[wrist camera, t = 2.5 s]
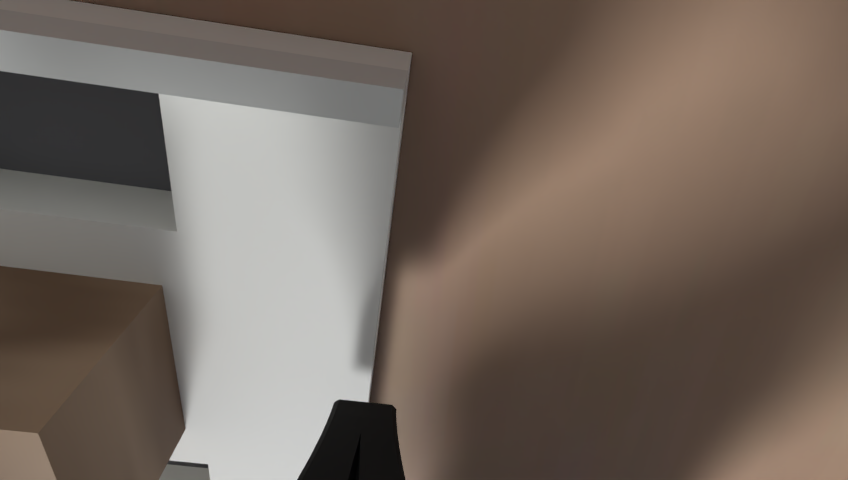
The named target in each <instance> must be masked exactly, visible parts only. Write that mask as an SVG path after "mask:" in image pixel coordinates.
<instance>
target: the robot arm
mask: <svg viewBox="0 0 848 480" xmlns="http://www.w3.org/2000/svg"><path fill="white" fill-rule="evenodd" d="M297 480H405V476H404V471H403V466H402V461H401V455H400V449H399V442H398V435H397V424H396V408H395V407H394V406H393V405H387V404H378V403H369V402H359V401H350V400H341V399H339V400H337V401H336V402H334V404H333V407H332V410H331V413H330V416H329V418H328V420H327V423H326V425H325V427H324V430H323V432H322V434H321V436H320V438H319V440H318V442H317V444H316V446H315V448H314V450H313V452H312V454H311V456H310V458H309V459H308V461H307V463H306V465H305V467H304V468H303V470H302V472H301V474H300V475H299V477H298V479H297Z"/></svg>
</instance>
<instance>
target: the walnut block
mask: <svg viewBox="0 0 848 480" xmlns="http://www.w3.org/2000/svg"><path fill="white" fill-rule="evenodd" d="M184 431H185V423H184V417H183V410H182V404H181V398H180V392H179V386H178V379H177V373H176V367H175V361H174V355H173V349H172V342H171V336H170V330H169V324H168V318H167V311H166V305H165V299H164V293H163V287H162V285H155V284H147V283H139V282H130V281H122V280H114V279H105V278H97V277H89V276H81V275H72V274H64V273H56V272H47V271H39V270H31V269H23V268H14V267H6V266H0V480H159V478H160V476H161V475H162V473H163V471H164V469H165V467H166V465H167V463H168V461H169V459H170V458H171V456H172V454H173V452H174V450H175V448H176V446H177V444H178V443H179V441H180V439H181V437H182V435H183V433H184Z"/></svg>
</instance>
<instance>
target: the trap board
mask: <svg viewBox="0 0 848 480" xmlns="http://www.w3.org/2000/svg"><path fill="white" fill-rule="evenodd" d="M411 57H412V53H411V52H404V51H398V50H391V49H385V48H378V47H372V46H365V45H359V44H352V43H346V42H339V41H333V40H326V39H319V38H313V37H306V36H300V35H293V34H287V33H280V32H274V31H267V30H261V29H254V28H248V27H241V26H234V25H228V24H221V23H215V22H208V21H202V20H195V19H189V18H182V17H176V16H169V15H162V14H156V13H149V12H143V11H136V10H130V9H123V8H117V7H110V6H104V5H97V4H91V3H84V2H77V1H71V0H0V266H6V267H14V268H23V269H31V270H39V271H47V272H56V273H64V274H72V275H81V276H89V277H97V278H105V279H114V280H122V281H130V282H139V283H147V284H155V285H162V287H163V293H164V299H165V305H166V311H167V318H168V324H169V330H170V336H171V342H172V349H173V355H174V361H175V367H176V373H177V379H178V386H179V392H180V398H181V404H182V410H183V417H184V423H185V431H184V433H183V435H182V437H181V439H180V441H179V443H178V444H177V446H176V448H175V450H174V452H173V454H172V456H171V458H170V459H169V461H168V463H167V465H166V467H165V469H164V471H163V473H162V475H161V476H160V478H159V480H297V479H298V477H299V475H300V474H301V472H302V470H303V468H304V467H305V465H306V463H307V461H308V459H309V458H310V456H311V454H312V452H313V450H314V448H315V446H316V444H317V442H318V440H319V438H320V436H321V434H322V432H323V430H324V427H325V425H326V423H327V420H328V418H329V416H330V413H331V410H332V407H333V404H334V402H336V401H337V400H339V399H341V400H350V401H359V402H369V401H370V393H371V385H372V377H373V369H374V360H375V352H376V344H377V336H378V328H379V319H380V311H381V303H382V295H383V287H384V278H385V270H386V262H387V254H388V246H389V237H390V229H391V221H392V213H393V205H394V196H395V188H396V180H397V172H398V164H399V155H400V147H401V139H402V131H403V122H404V114H405V106H406V98H407V90H408V81H409V73H410V65H411Z"/></svg>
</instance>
